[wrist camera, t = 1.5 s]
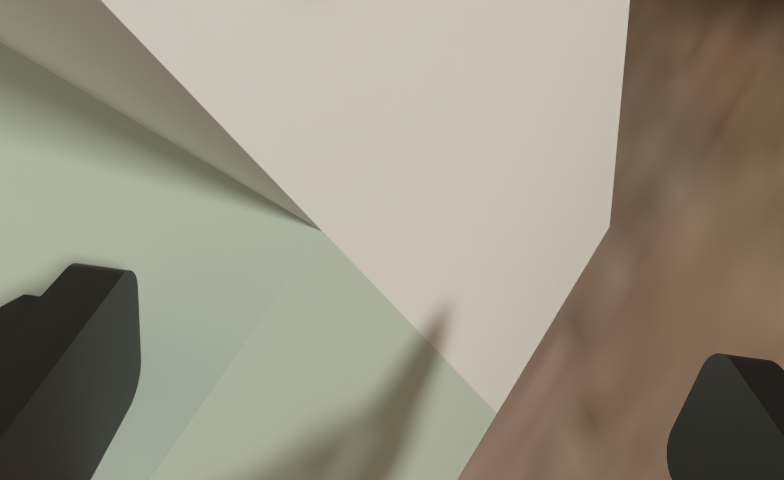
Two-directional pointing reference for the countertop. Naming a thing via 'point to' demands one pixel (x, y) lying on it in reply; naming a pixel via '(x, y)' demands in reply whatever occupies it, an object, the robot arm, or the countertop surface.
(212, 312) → the stepped stand
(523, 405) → the countertop surface
